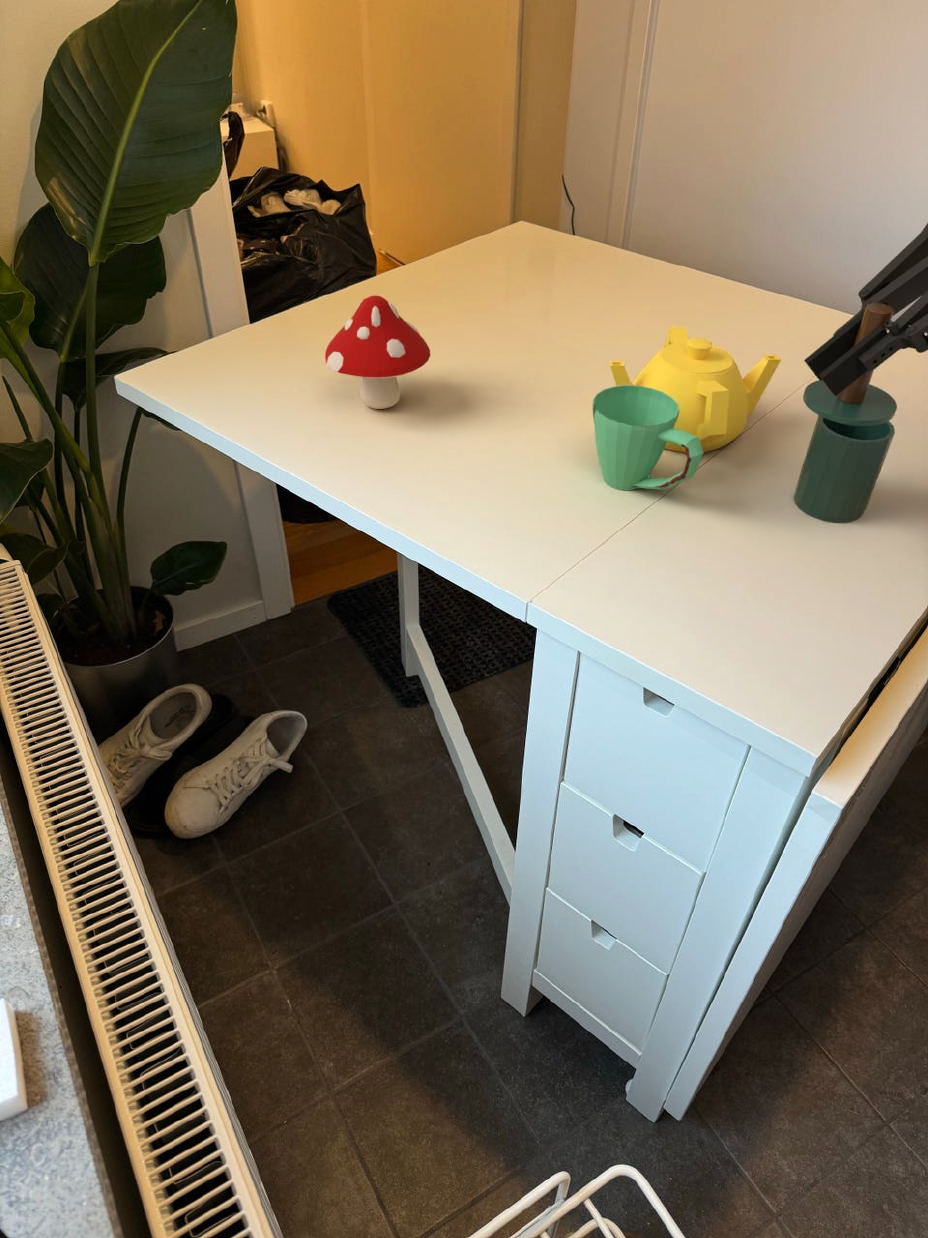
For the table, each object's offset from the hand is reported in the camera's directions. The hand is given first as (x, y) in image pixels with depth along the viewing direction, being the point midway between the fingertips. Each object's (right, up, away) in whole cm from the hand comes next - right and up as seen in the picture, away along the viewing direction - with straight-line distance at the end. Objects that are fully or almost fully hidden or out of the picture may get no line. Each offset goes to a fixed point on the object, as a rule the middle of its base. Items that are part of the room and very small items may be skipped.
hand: (820, 377), depth 84 cm
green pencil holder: (+9, -9, +21) cm, 24 cm away
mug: (-13, -7, +23) cm, 27 cm away
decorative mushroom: (-45, +6, +37) cm, 59 cm away
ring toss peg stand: (+4, -2, +3) cm, 5 cm away
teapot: (-5, +2, +34) cm, 34 cm away
